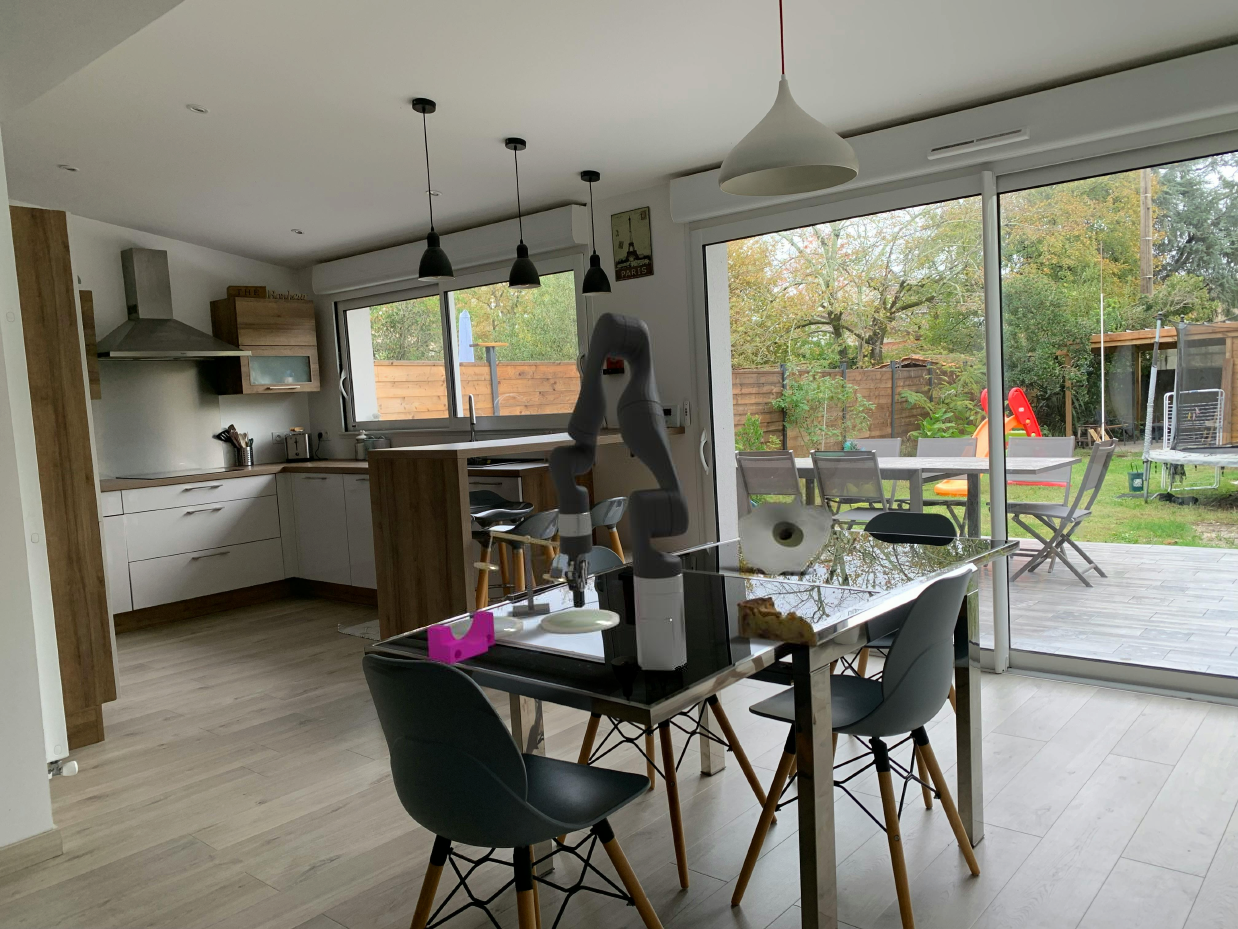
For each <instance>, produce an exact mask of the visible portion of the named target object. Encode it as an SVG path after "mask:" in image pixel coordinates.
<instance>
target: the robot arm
mask: <svg viewBox="0 0 1238 929" xmlns="http://www.w3.org/2000/svg"><path fill="white" fill-rule="evenodd" d="M591 334H592V335H591V338H590V342H589V348H588V352H587V356H586V361H585V366H584V371H583V376H582V381H581V385H580V390H579V393H578V397H577V400H576V402H575V405H574V408H573V411H572V413H571V416H570V419H569V420H568V421H569V422H568V425H567V428H566V431H567V435H568V436H569V438H571V439H572V440H573V441H575V442H574V443H573V444H567V445H558V446H556V447H554V448H553V449H552V450H551V451H550V453H549V456H548V470H549V473H550V476H551V480H552V483H553V485H554V489H555V492H556V495H557V506H558V520H557V521H558V522H557V523H558V525H557V526H558V543H559V545H560V547H559V550H560V553H561V554H560V555H564V556H567V562H566V570H565V571H564V577H565V578H566V581H567V582H566V585H567V587H568V590H569V591H570V592H572V601H573V604H572V605H573V608H575V609H577V608H578V609H582V608H583V607H585V605H586V598H585V596H586V595H585V590H586V586H588V579H589V572H590V571H589V570H590V561H589V560H587V558H586V555H587V554H591V553H592V552H593V548H594V547H593V546H594V545H593V535H592V534H593V530H592V518H591V514H590V513H591V512H590V497H589V491H588V489H587V488H586V487H585V486H583V485H577V483H576V482H575V479H574V476H580V475H585V474H587V473H588V472H590V470H591V469H592V468H593V466H594V464H595V461H596V455H597V445H598V444H597V443H598V436H599V433H600V431H601V428H602V425H603V423H604V421H605V418H606V414H607V411H608V400H607V394H606V390H605V386H604V379H603V372H604V371H603V370H604V366H605V362H606V360H607V359H608V358H610V359H611V358H612V359H617V360H621V361H622V360H623V361H626V362H627V364H628V367H629V372H630V379H629V380H628V383H627V384H626V386H625V388H624V389H623V392H622V393H621V395H620V397H619V399H618V401H617V402H618V403H617V405H616V418H617V422H618V427H619V432H620V436H621V439H622V441H623V444H624V445H625V446H626V447H627V449H629V450H630V452H631V453H632V454H633V455H634V456H635V457H636V458H638V460H640V461H641V463H643V464H644V465H645V467H647V469H648V470H649V471H650V472H651V473H652V474H653V476H654V478H655V480H656V482H657V484H658V486H659V488H650V489H649V488H648V489H637V490H634V491H632V492H631V493H630V495H629V498H628V502H627V514H628V522H629V523H628V524H629V533H630V544H631V556H632V568H633V570H632V571H633V587H634V588H633V591H634V594H633V595H634V609H635V610H634V613H635V632H636V633H635V634H636V648H637V649H636V650H637V663H638V666H640V667H641V670H643V671H646V670H647V671H675V670H676V669H677V668H676V667H678V666H681V667H683V666H685V665H686V664H687V645H686V644H687V643H686V624H685V604H684V603H685V602H684V601H685V600H684V599H685V598H684V577H683V562H682V559H681V558H680V557H679V556H677V555H675V554H672V553H668V552H664V551H660V550H658V549H656V548H655V547H654V546H652V543H651V539H661V538H671V537H672V538H673V537H674V538H675V537H680V536H683V535H685V534H686V532H687V531H688V528H689V525H690V515H689V508H688V504H687V499H686V496H685V491H684V489H683V486H682V483H681V482H682V481H681V480H680V477H679V473H678V469H677V467H676V464H675V461H674V457H673V453H672V452H673V451H672V448H671V443H670V438H669V434H668V428H667V423H666V422H667V421H666V418H665V414H664V409H663V406H662V402H661V397H660V393H659V389H658V386H657V379H656V374H655V373H656V372H655V369H654V361H653V359H654V358H653V351H652V350H653V349H652V343H651V342H652V341H651V335H650V331H649V327H648V326H647V324H646V322H645V321H644V320H642V319H640V318H639V317H636V316H631V315H625V314H620V313H615V312H609V311H608V312H605V313H602V314H601V315H600V316H599V317H598V319H597V321H596V323H595V325H594V328H593V331H592V333H591ZM685 663H686V664H685ZM684 664H685V665H684ZM682 665H683V666H682ZM675 668H676V669H675ZM678 668H679V667H678Z"/></svg>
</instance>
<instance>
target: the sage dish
mask: <svg viewBox="0 0 1238 929" xmlns="http://www.w3.org/2000/svg"><path fill="white" fill-rule="evenodd" d="M619 623H620V615H619V614H618V613H616V612H614V611H610V610H606V609H598V608H597V609H595V608H591V609H590V608H584V609H582V608H578V609H571V610H570V609H569V610H564V611H559V612H556V613H554V612H553V613H552V614H551V613H550V614H547V615H546V616H544V617H543V618H542V619H541V620H540V628H541V629H542V630H544V631H547V632H550V633H555V634H556V633H557V634H582V633H583V634H585V633H593V632H598V631H599V632H600V631H603V630H608V629H611V628H614V627H615V626H617V625H618V624H619Z"/></svg>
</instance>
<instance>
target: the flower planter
mask: <svg viewBox="0 0 1238 929" xmlns="http://www.w3.org/2000/svg"><path fill="white" fill-rule="evenodd" d="M803 495H804V494H803V492H802V491H797V493H795V495H794V497H793V499H792V500H791V501H790V502H781V501H773V502H771V501H762V502H760V503H758V504H757V505H755V506H754V507H753V508H752V510H751V512H750V513H749V514H747V515H744V516H742V517H741V518H739V520H738V521H737V526H738V527H737V528H738V532H739V534H738V537H739V544H740V549H741V555H742V557H743V560H744V561H745V563H747V564H748V566H750V567H751V568H756V569H760V570H762V571H763V572H764V573H765V575H771V576H779V575H780V574H781V573H785V572H789V571H802V570H804V569H805V568H806V567H807V566H808V563H809V561H811V559H813V557H814V556H816V555H817V554H818V553H819V552H820V550H821V549H822V548H823V547H824V545H825V544H826V543H827V541H828V538H829V537H830V535H831V534H832V531H831V530H832V525H833V524H834V521H833V520H834V519H833V513H832V512H831V511H829V510H827V509H826V508H824V507H822V506H821V505H819V504H818V505H817V504H809V505H808V504H807V505H805V504H801V500H802V499H803Z"/></svg>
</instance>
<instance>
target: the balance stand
mask: <svg viewBox="0 0 1238 929" xmlns="http://www.w3.org/2000/svg"><path fill="white" fill-rule="evenodd" d="M523 545H524V558H525V559H524V560H525V575H526V577H525V578H526V591H527V592H526V593H527V594H526V595H527V596H526V597H527V604H519V605H512V617H523V616H524V617H525V616H535V615H534V614H538V615H549V614H548V613H550V614H551V608H550V602H547V603H546V602H545V603H535V601H534V587H533V585H534V584H533V571H532V570H533V568H532V552H531V551H532V550H531V544H530V543H528V544H526V543H524V544H523Z"/></svg>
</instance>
